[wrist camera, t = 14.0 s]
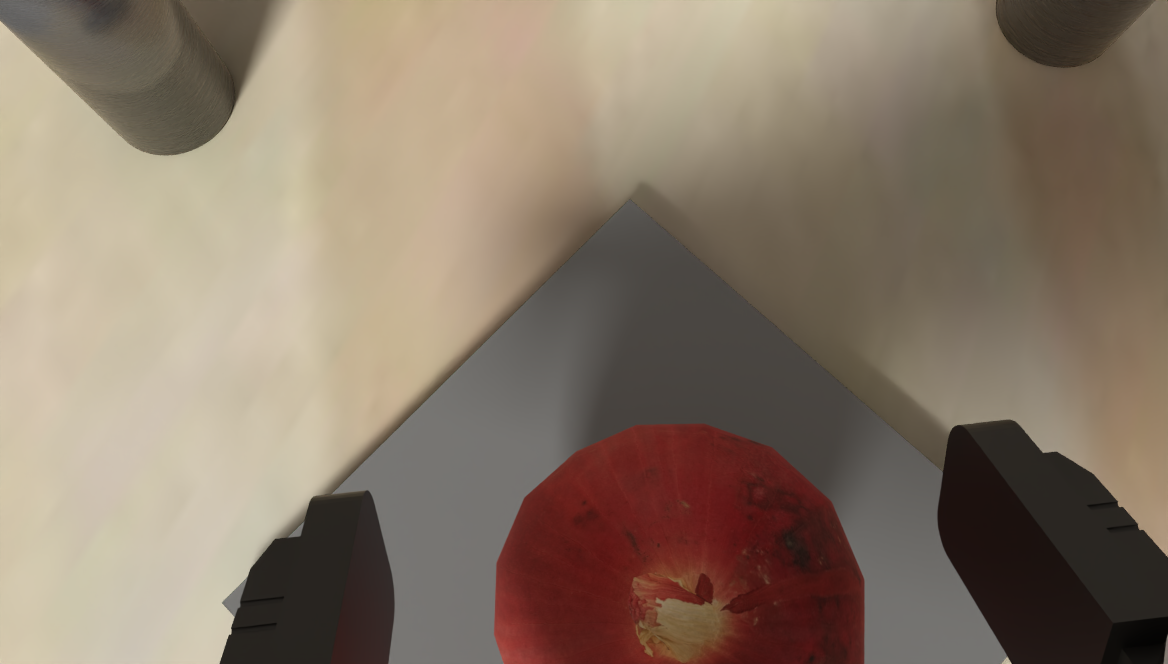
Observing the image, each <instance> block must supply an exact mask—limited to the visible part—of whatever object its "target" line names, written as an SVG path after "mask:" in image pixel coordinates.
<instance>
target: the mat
mask: <svg viewBox="0 0 1168 664" xmlns="http://www.w3.org/2000/svg"><path fill="white" fill-rule="evenodd" d="M703 423H704V424H707V425H710V426H712V427H715V428H718V429H721V430H724V431H727V432H730V433H732V434H735V435H738V436H741V437H744V438H747V439H750V440H752V441H755V442H758V443H761V444H764V445H767V446H770V447H772V448H773V449H775V450H776V451H777V452H778V453H779V454H780V455H781V456H782V457H783V458H784V459H786V460H787V461H788V462H789V463H790V464H791V465H792V466H793V467H794V468H795V469H796V470H798V471H799V472H800V473H801V474H802V475H803V476H804V477H805V478H806V479H807V480H809V481H810V482H811V483H812V484H813V485H814V486H815V487H816V488H817V489H818V490H819V491H821V492H822V493H823V494H824V495H825V496H826V497H827V498H828V499H829V500H830V501H832V504H833V506H834V508H835V511H836V513H837V515H838V518H839V520H840V523H841V525H842V527H843V530H844V532H845V534H846V537H847V539H848V542H849V544H850V546H851V549H852V551H853V553H854V556H855V558H856V561H857V563H858V565H859V568H860V570H861V572H862V575H863V577H864V580H865V632H864V664H1001V663H1002V662H1003V661H1004V660H1005V658H1006V657H1007V655H1006V653H1005V651H1004V650H1003V648H1002V646H1001V645H1000V643H999V641H998V640H997V638H996V636H995V635H994V633H993V631H992V630H991V628H990V626H989V625H988V623H987V621H986V620H985V618H984V616H983V615H982V613H981V611H980V610H979V608H978V606H977V605H976V603H975V601H974V600H973V598H972V596H971V595H970V593H969V591H968V590H967V588H966V586H965V585H964V583H963V581H962V580H961V578H960V576H959V575H958V573H957V571H956V570H955V568H954V567H953V565H952V563H951V562H950V560H949V558H948V556H947V554H946V552H945V550H944V548H943V545H942V542H941V538H940V534H939V529H938V521H937V511H938V503H939V496H940V490H941V483H942V477H943V472H942V471H941V470H940V469H939V468H938V467H936V466H935V465H934V464H933V463H932V462H931V461H930V460H928V459H927V458H926V457H925V456H924V455H923V454H922V453H920V452H919V451H918V450H917V449H916V448H915V447H914V446H912V445H911V444H910V443H909V442H908V441H907V440H906V439H904V438H903V437H902V436H901V435H900V434H899V433H897V432H896V431H895V430H894V429H893V428H892V427H891V426H889V425H888V424H887V423H886V422H885V421H884V420H883V419H881V418H880V417H879V416H878V415H877V414H876V413H875V412H873V411H872V410H871V409H870V408H869V407H868V406H867V405H865V404H864V403H863V402H862V401H861V400H860V399H859V398H857V397H856V396H855V395H854V394H853V393H852V392H850V391H849V390H848V389H847V388H846V387H845V386H844V385H842V384H841V383H840V382H839V381H838V380H837V379H836V378H834V377H833V376H832V375H831V374H830V373H829V372H828V371H826V370H825V369H824V368H823V367H822V366H821V365H820V364H818V363H817V362H816V361H815V360H814V359H813V358H812V357H810V356H809V355H808V354H807V353H806V352H805V351H803V350H802V349H801V348H800V347H799V346H798V345H797V344H795V343H794V342H793V341H792V340H791V339H790V338H789V337H787V336H786V335H785V334H784V333H783V332H782V331H781V330H779V329H778V328H777V327H776V326H775V325H774V324H773V323H771V322H770V321H769V320H768V319H767V318H766V317H765V316H763V315H762V314H761V313H760V312H759V311H758V310H756V309H755V308H754V307H753V306H752V305H751V304H750V303H748V302H747V301H746V300H745V299H744V298H743V297H742V296H740V295H739V294H738V293H737V292H736V291H735V290H734V289H732V288H731V287H730V286H729V285H728V284H727V283H726V282H724V281H723V280H722V279H721V278H720V277H719V276H718V275H716V274H715V273H714V272H713V271H712V270H711V269H709V268H708V267H707V266H706V265H705V264H704V263H703V262H701V261H700V260H699V259H698V258H697V257H696V256H695V255H693V254H692V253H691V252H690V251H689V250H688V249H687V248H685V247H684V246H683V245H682V244H681V243H680V242H679V241H677V240H676V239H675V238H674V237H673V236H672V235H671V234H669V233H668V232H667V231H666V230H665V229H664V228H663V227H661V226H660V225H659V224H658V223H657V222H656V221H654V220H653V219H652V218H651V217H650V216H649V215H648V214H646V213H645V212H644V211H643V210H642V209H641V208H640V207H638V206H637V205H636V204H635V203H634V202H633V201H632V200H630V199H629V200H628V201H627V202H626V203H625V204H624V205H623V206H622V207H621V208H620V209H619V210H618V211H617V212H616V213H615V214H614V215H613V216H612V217H611V218H610V219H609V220H608V221H607V222H606V223H605V224H604V225H603V226H602V227H601V228H600V229H599V230H598V231H597V232H596V233H595V234H594V235H593V236H592V237H591V238H590V239H589V240H588V241H587V242H586V243H585V244H584V245H583V246H582V247H581V248H580V249H579V250H578V251H577V252H576V253H575V254H574V255H573V256H572V257H571V258H570V259H569V260H568V261H567V262H566V263H565V264H564V265H563V266H562V267H561V268H560V269H558V270H557V271H556V272H555V273H554V274H553V275H552V276H551V277H550V278H549V279H548V280H547V281H546V282H545V283H544V284H543V285H542V286H541V287H540V288H539V289H538V290H537V291H536V292H535V293H534V294H533V295H532V296H531V297H530V298H529V299H528V300H527V301H526V302H525V303H524V304H523V305H522V306H521V307H520V308H519V309H518V310H517V311H516V312H515V313H514V314H513V315H512V316H511V317H510V318H509V319H508V320H507V321H506V322H505V323H504V324H503V325H502V326H501V327H500V328H499V329H498V330H497V331H496V332H495V333H494V334H493V335H492V336H491V337H490V338H489V339H488V340H487V341H486V342H485V343H484V344H483V345H482V346H481V347H480V348H479V349H478V350H477V351H476V352H475V353H474V354H473V355H472V356H471V357H470V358H469V359H468V360H467V361H466V362H465V363H464V364H462V365H461V366H460V367H459V368H458V369H457V370H456V371H455V372H454V373H453V374H452V375H451V376H450V377H449V378H448V379H447V380H446V381H445V382H444V383H443V384H442V385H441V386H440V387H439V388H438V389H437V390H436V391H435V392H434V393H433V394H432V395H431V396H430V397H429V398H428V399H427V400H426V401H425V402H424V403H423V404H422V405H421V406H420V407H419V408H418V409H417V410H416V411H415V412H414V413H413V414H412V415H411V416H410V417H409V418H408V419H407V420H406V421H405V422H404V423H403V424H402V425H401V426H400V427H399V428H398V429H397V430H396V431H395V432H394V433H393V434H392V435H391V436H390V437H389V438H388V439H387V440H386V441H385V442H384V443H383V444H382V445H381V446H380V447H379V448H378V449H377V450H376V451H375V452H374V453H373V454H372V455H371V456H370V457H369V458H368V459H367V460H365V461H364V462H363V463H362V464H361V465H360V466H359V467H358V468H357V469H356V470H355V471H354V472H353V473H352V474H351V475H350V476H349V477H348V478H347V479H346V480H345V481H344V482H343V483H342V484H341V485H340V486H339V487H338V488H337V489H336V490H335V491H334V492H333V493H332V494H339V493H347V492H356V491H365V490H368V491H369V492H370V493H371V495H372V497H373V500H374V504H375V507H376V511H377V515H378V519H379V524H380V528H381V532H382V536H383V540H384V544H385V548H386V552H387V556H388V560H389V564H390V568H391V572H392V577H393V584H394V597H395V613H394V624H393V632H392V639H391V647H390V655H389V663H388V664H504V663H503V660H502V657H501V654H500V651H499V648H498V645H497V642H496V639H495V636H494V618H495V589H496V562H497V560H498V558H499V555H500V553H501V551H502V548H503V546H504V544H505V541H506V539H507V537H508V534H509V532H510V530H511V527H512V525H513V523H514V520H515V518H516V516H517V513H518V511H519V509H520V506H521V504H522V502H523V499H524V497H526V496H527V495H528V494H529V493H530V492H531V491H532V490H533V489H535V488H536V487H537V486H538V485H539V484H540V483H541V482H542V481H544V480H545V479H546V478H547V477H548V476H549V475H550V474H551V473H552V472H554V471H555V470H556V469H557V468H558V467H559V466H560V465H561V464H563V463H564V462H565V461H566V460H567V459H568V458H569V457H570V456H572V455H573V454H574V453H575V452H576V451H578V450H581V449H583V448H585V447H587V446H590V445H592V444H594V443H597V442H599V441H601V440H603V439H606V438H608V437H610V436H612V435H615V434H617V433H619V432H622V431H624V430H626V429H628V428H631V427H633V426H635V425H655V424H703ZM303 525H304V522H303V523H302V524H301V525H300V526H299V527H298V528H297V529H296V530H295V531H294V532H293V533H292V534H291V535H290V536H289V537H298V536H301V532H302V529H303ZM289 537H288V538H289ZM247 578H248V577H247ZM247 578H246V579H245V580H244V581H243V582H242V583H241V584H240V585H239V586H238V587H237V588H236V589H235V590H234V591H233V592H232V593H231V594H230V595H229V596H228V597H227V598H226V599H225V600H224V601H223V602H222V603H223V605H224V606H225V607H226V608H227V609H228V610H229V611H230V612H231V613H232V614H233V616H234V617H235V615H236V612H237V609H238V608H240V599H241V596H242V593H243V590H244V587H245V584H246V581H247Z"/></svg>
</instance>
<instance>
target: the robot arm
mask: <svg viewBox="0 0 1168 664" xmlns="http://www.w3.org/2000/svg"><path fill="white" fill-rule="evenodd" d="M937 521H938V529H939V534H940V538H941V542H942V545H943V548H944V550H945V552H946V554H947V556H948V558H949V560H950V562H951V563H952V565H953V567H954V568H955V570H956V571H957V573H958V575H959V576H960V578H961V580H962V581H963V583H964V585H965V586H966V588H967V590H968V591H969V593H970V595H971V596H972V598H973V600H974V601H975V603H976V605H977V606H978V608H979V610H980V611H981V613H982V615H983V616H984V618H985V620H986V621H987V623H988V625H989V626H990V628H991V630H992V631H993V633H994V635H995V636H996V638H997V640H998V641H999V643H1000V645H1001V646H1002V648H1003V650H1004V651H1005V653H1006V655H1007V656H1008V658H1009V660H1010V661H1011V663H1012V664H1168V557H1167V556H1166V555H1165V554H1164V553H1163V552H1162V550H1161V549H1160V548H1159V547H1158V546H1157V545H1156V544H1155V543H1154V542H1153V540H1152V539H1151V538H1150V537H1149V536H1148V535H1147V534H1146V533H1145V531H1144V530H1139V529H1138V524H1137V523H1136V521H1135V520H1134V519H1133V518H1132V517H1131V516H1130V515H1129V514H1128V512H1127V511H1126V510H1125V509H1124V508H1123V507H1119V506H1118V501H1117V500H1116V499H1115V498H1114V497H1113V496H1112V495H1111V493H1110V492H1109V491H1108V490H1107V489H1106V488H1105V487H1104V486H1103V485H1102V483H1101V482H1100V481H1099V480H1098V479H1097V478H1096V477H1095V476H1094V474H1092V473H1091V472H1089V471H1087V470H1086V469H1084V468H1083V467H1081V466H1079V465H1078V464H1076V463H1074V462H1073V461H1071V460H1069V459H1068V458H1066V457H1065V456H1063V455H1061V454H1060V453H1058V452H1049V453H1042V451H1041V450H1040V449H1039V448H1038V447H1037V446H1036V444H1035V443H1034V442H1033V441H1032V440H1031V438H1030V437H1029V436H1028V435H1027V434H1026V433H1025V431H1024V430H1023V429H1022V428H1021V427H1020V426H1019V425H1018V424H1017V423H1016V422H1015V421H1012V420H1000V421H992V422H983V423H974V424H965V425H957V426H955V427H954V428H952V430H951V432H950V434H949V438H948V444H947V451H946V457H945V464H944V470H943V477H942V483H941V490H940V496H939V503H938V511H937ZM394 613H395V597H394V584H393V577H392V572H391V568H390V564H389V560H388V556H387V552H386V548H385V544H384V540H383V536H382V532H381V528H380V524H379V519H378V515H377V511H376V507H375V504H374V500H373V497H372V495H371V493H370V492H369V491H368V490H365V491H356V492H347V493H339V494H330V495H321V496H314V497H313V498H312V499H311V501H310V503H309V506H308V510H307V514H306V517H305V521H304V525H303V529H302V532H301V536H298V537H289V538H280V539H275V540H274V541H273V542H272V544H271V545H270V546H269V547H268V548H267V550H266V551H265V552H264V553H263V554H262V556H261V557H260V558H259V559H258V560H257V562H256V563H255V564H254V565H253V566H252V568H251V569H250V572H249V575H248V578H247V581H246V584H245V587H244V590H243V593H242V596H241V599H240V608H238V609H237V612H236V615H235V618H234V621H233V624H232V627H231V629H232V633H231V635H229V636H228V639H227V642H226V646H225V649H224V652H223V655H222V658H221V661H220V664H388V663H389V655H390V647H391V639H392V632H393V624H394Z"/></svg>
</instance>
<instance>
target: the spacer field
mask: <svg viewBox="0 0 1168 664" xmlns="http://www.w3.org/2000/svg"><path fill="white" fill-rule="evenodd" d="M1154 1H1155V0H997V2H996V13H997V19H998V23H999V25H1000V28H1001V30H1002V32H1003V34H1004V35H1005V37H1006V38H1007V40H1008V41H1009V42H1010V43H1011V44H1012V45H1013V46H1014V47H1015V48H1016V49H1017V50H1018V51H1019V52H1020V53H1022V54H1023V55H1025V56H1026V57H1028V58H1030V59H1032V60H1034V61H1036V62H1039V63H1041V64H1045V65H1049V66H1054V67H1075V66H1080V65H1083V64H1086V63H1089V62H1091V61H1093V60H1095V59H1096V58H1098V57H1099V56H1100V55H1101V54H1103V53H1104V52H1105V51H1106V50H1107V49H1108V48H1109V47H1110V46H1111V45H1112V44H1113V43H1114V42H1115V41H1116V40H1117V39H1118V38H1119V37H1120V36H1121V35H1122V34H1123V33H1124V32H1125V31H1126V30H1127V29H1128V28H1129V27H1130V26H1131V25H1132V24H1133V23H1134V22H1135V21H1136V20H1137V19H1138V18H1139V17H1140V16H1141V15H1142V14H1143V13H1144V12H1145V11H1146V10H1147V8H1148V7H1149V6H1150V5H1151V4H1152V3H1153V2H1154ZM0 21H1V22H2V23H3V24H4V25H5V26H6V27H7V28H8V29H9V30H11V31H12V32H13V33H14V34H15V35H16V36H17V37H18V38H19V39H20V40H21V41H22V42H23V43H24V44H25V45H26V46H27V47H28V48H29V49H30V50H31V51H32V52H33V53H35V54H36V55H37V56H38V57H39V58H40V59H41V60H42V61H43V62H44V63H45V64H46V65H47V66H48V67H49V68H50V69H51V70H52V71H53V72H54V73H55V74H56V75H57V76H59V77H60V78H61V79H62V80H63V81H64V82H65V83H66V84H67V85H68V86H69V87H70V88H71V89H72V90H73V91H74V92H75V93H76V94H77V95H78V96H79V97H80V98H81V99H83V100H84V101H85V102H86V103H87V104H88V105H89V106H90V107H91V108H92V109H93V110H94V111H95V112H96V113H97V114H98V115H99V116H100V117H101V118H102V119H103V120H104V121H106V122H107V123H108V124H109V125H110V126H111V127H112V128H113V129H114V130H115V131H116V132H117V133H118V134H119V135H120V136H121V137H122V138H123V139H124V140H125V141H127V142H128V143H129V144H130V145H132V146H133V147H135V148H137V149H139V150H141V151H143V152H147V153H150V154H156V155H176V154H181V153H185V152H188V151H191V150H193V149H196V148H198V147H200V146H202V145H203V144H205V143H206V142H208V141H209V140H210V139H212V138H213V137H214V136H215V135H216V134H217V133H218V132H219V131H220V130H221V129H222V127H223V126H224V125H225V123H226V121H227V120H228V118H229V116H230V113H231V111H232V108H233V104H234V83H233V80H232V77H231V75H230V72H229V70H228V69H227V67H226V66H225V64H224V63H223V62H222V60H221V59H220V57H219V56H218V54H217V53H216V52H215V50H214V49H213V47H212V46H211V44H210V43H209V41H208V40H207V39H206V37H205V36H204V34H203V33H202V31H201V30H200V29H199V27H198V26H197V24H196V23H195V21H194V20H193V18H192V17H191V16H190V14H189V13H188V11H187V10H186V8H185V7H184V6H183V4H182V3H181V1H180V0H0Z"/></svg>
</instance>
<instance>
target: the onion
mask: <svg viewBox="0 0 1168 664" xmlns="http://www.w3.org/2000/svg"><path fill="white" fill-rule="evenodd" d="M864 632H865V580H864V577H863V575H862V572H861V570H860V568H859V565H858V563H857V561H856V558H855V556H854V553H853V551H852V549H851V546H850V544H849V542H848V539H847V537H846V534H845V532H844V530H843V527H842V525H841V523H840V520H839V518H838V515H837V513H836V511H835V508H834V506H833V504H832V501H830V500H829V499H828V498H827V497H826V496H825V495H824V494H823V493H822V492H821V491H819V490H818V489H817V488H816V487H815V486H814V485H813V484H812V483H811V482H810V481H809V480H807V479H806V478H805V477H804V476H803V475H802V474H801V473H800V472H799V471H798V470H796V469H795V468H794V467H793V466H792V465H791V464H790V463H789V462H788V461H787V460H786V459H784V458H783V457H782V456H781V455H780V454H779V453H778V452H777V451H776V450H775V449H773V448H772V447H770V446H767V445H764V444H761V443H758V442H755V441H752V440H750V439H747V438H744V437H741V436H738V435H735V434H732V433H730V432H727V431H724V430H721V429H718V428H715V427H712V426H710V425H707V424H704V423H703V424H655V425H635V426H633V427H631V428H628V429H626V430H624V431H622V432H619V433H617V434H615V435H612V436H610V437H608V438H606V439H603V440H601V441H599V442H597V443H594V444H592V445H590V446H587V447H585V448H583V449H581V450H578V451H576V452H575V453H574V454H573V455H572V456H570V457H569V458H568V459H567V460H566V461H565V462H564V463H563V464H561V465H560V466H559V467H558V468H557V469H556V470H555V471H554V472H552V473H551V474H550V475H549V476H548V477H547V478H546V479H545V480H544V481H542V482H541V483H540V484H539V485H538V486H537V487H536V488H535V489H533V490H532V491H531V492H530V493H529V494H528V495H527V496H526V497H524V499H523V502H522V504H521V506H520V509H519V511H518V513H517V516H516V518H515V520H514V523H513V525H512V527H511V530H510V532H509V534H508V537H507V539H506V541H505V544H504V546H503V548H502V551H501V553H500V555H499V558H498V560H497V562H496V589H495V618H494V636H495V639H496V642H497V645H498V648H499V651H500V654H501V657H502V660H503V663H504V664H864Z"/></svg>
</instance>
